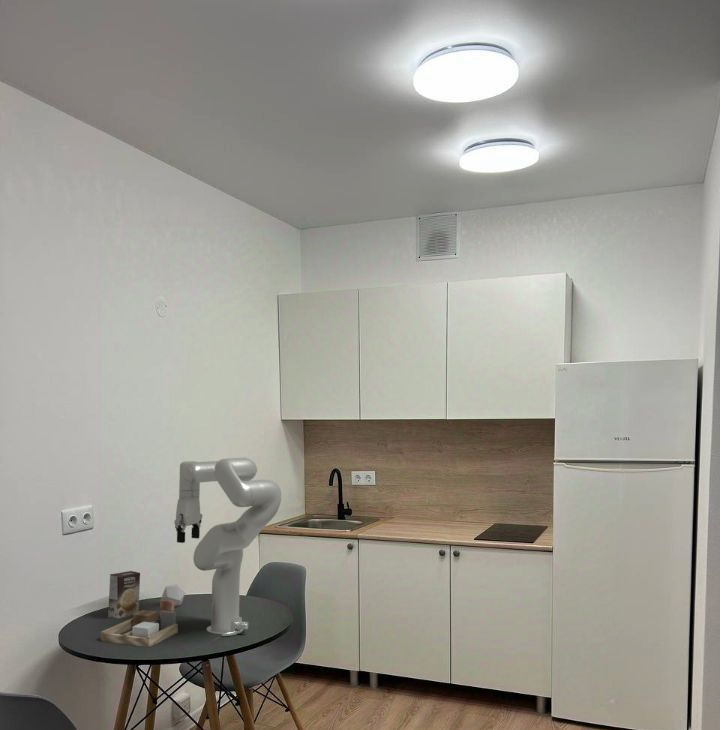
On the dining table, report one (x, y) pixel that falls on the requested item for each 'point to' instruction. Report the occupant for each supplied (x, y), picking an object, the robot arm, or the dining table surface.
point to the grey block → (154, 625)
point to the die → (173, 594)
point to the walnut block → (152, 613)
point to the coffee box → (124, 594)
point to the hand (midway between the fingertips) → (188, 540)
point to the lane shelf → (127, 638)
